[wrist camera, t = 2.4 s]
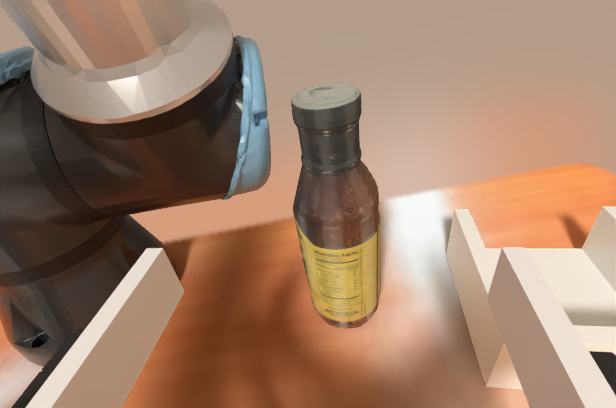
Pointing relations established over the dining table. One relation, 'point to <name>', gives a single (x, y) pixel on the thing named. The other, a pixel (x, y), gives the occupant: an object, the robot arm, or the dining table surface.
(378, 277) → the sauce bottle
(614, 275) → the bottle stand
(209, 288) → the dining table surface
